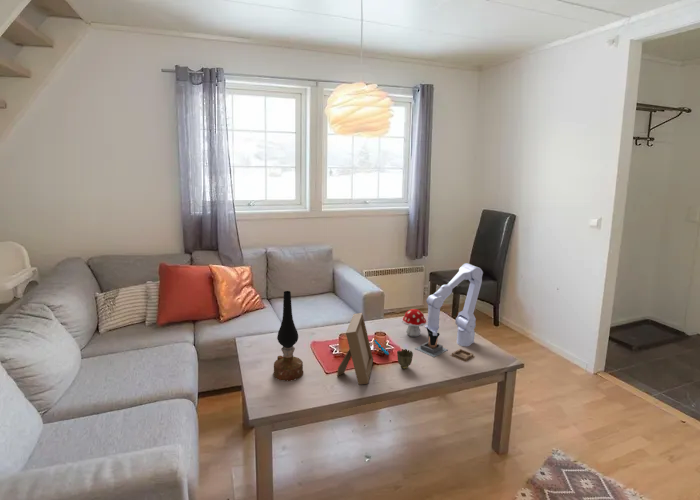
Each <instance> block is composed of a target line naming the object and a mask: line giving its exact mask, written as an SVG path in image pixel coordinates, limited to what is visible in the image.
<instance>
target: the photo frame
mask: <svg viewBox="0 0 700 500" xmlns="http://www.w3.org/2000/svg"><path fill="white" fill-rule="evenodd" d="M345 335H346V340H347V343H348V347H349V349H348V350H347V352H346V354H345V356H344V358H343V359H342V361H341V362H340V364H339V366H338V367H337V373H336V376H337V377H340V376H341V375H344V374H345V372H346V369H347V366H348V365H349V363H350V360H351V359H352V363H353V364H352V365H353V368H354V371H355V375H356V380H357V385H359V386H360V385H367V384H369V380H370V376H371V372H372V368H373V363H374V357H373V353H372V347H371V344H370V340H369V336H368V331H367V327H366V323H365V317H364V314H363V312H359V313H354V314H353V315H352V318H350V322H349V324H348V327H347V329H346V331H345ZM339 375H340V376H339Z"/></svg>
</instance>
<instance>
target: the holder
mask: <svg viewBox="0 0 700 500" xmlns="http://www.w3.org/2000/svg"><path fill="white" fill-rule="evenodd" d="M449 356H450V357H452V358H454V359H456V360H459V361H461V362H463V363H466V362H469V361H470V360H472V359H474V358H475V357H476V355H474V353H473V352H469V351H466V350H465V349H462V348H459V349H457V350H455V351H454V352H452V353H450V354H449Z"/></svg>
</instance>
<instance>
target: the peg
mask: <svg viewBox="0 0 700 500" xmlns="http://www.w3.org/2000/svg"><path fill="white" fill-rule="evenodd" d="M428 341H429V342H428ZM428 341H427V342H428V347H429V348H431V349H434V348H436V347H437V344H438V341H439V337H438V338H437V340H436V343H435V345H431V344H430V337H428Z"/></svg>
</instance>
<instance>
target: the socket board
mask: <svg viewBox="0 0 700 500" xmlns="http://www.w3.org/2000/svg"><path fill="white" fill-rule="evenodd" d="M428 342H429V340H428V341H426V342H425V343H422V344H420V345H419V346H417V347H415V348H414V350H417V351H419V352H421V353H422V354H423V353H424V354H426V355H428V356H430V357H433V358H437V356H440V355H441V354H443V353H445V352H448V350H449V349H448V348H445V347H443V346H444V345H442V344H439V343H437V347H436V348H434V349H431V348H429V347H428Z"/></svg>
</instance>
